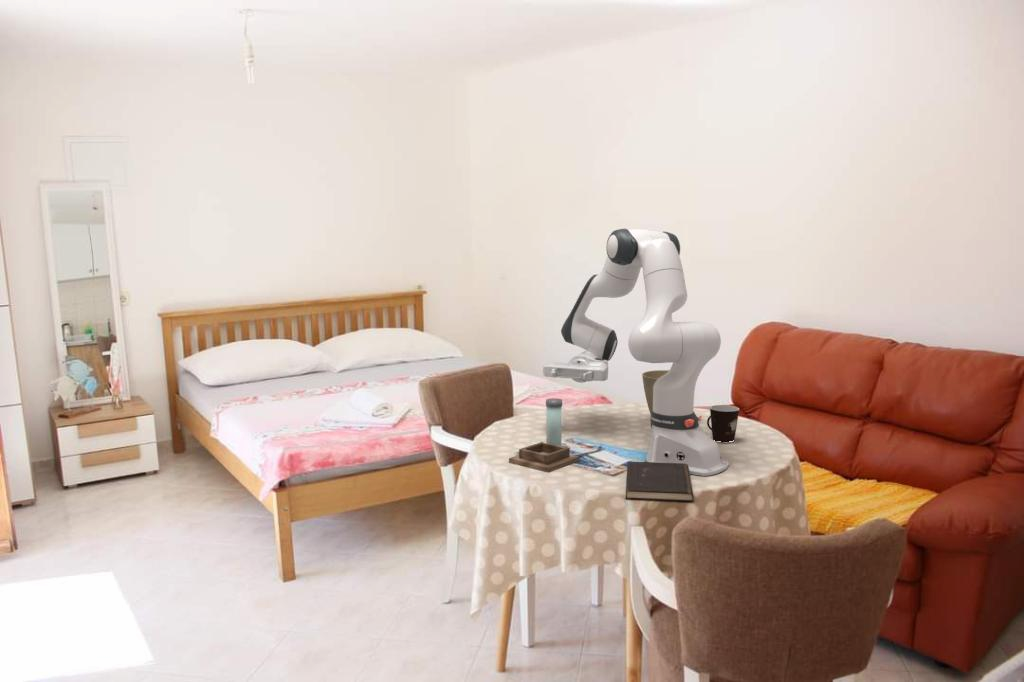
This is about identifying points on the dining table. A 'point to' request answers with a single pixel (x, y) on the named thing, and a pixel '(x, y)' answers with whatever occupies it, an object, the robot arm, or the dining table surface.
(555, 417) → the capped tube
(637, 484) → the hardcover book
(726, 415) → the coffee mug
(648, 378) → the plant pot
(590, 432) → the dining table surface
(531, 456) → the walnut rack
